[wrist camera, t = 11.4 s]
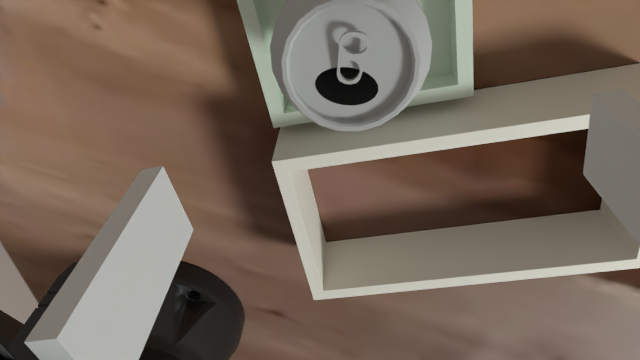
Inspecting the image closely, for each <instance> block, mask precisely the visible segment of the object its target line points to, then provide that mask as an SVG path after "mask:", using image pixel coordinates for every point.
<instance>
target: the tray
mask: <svg viewBox="0 0 640 360" xmlns="http://www.w3.org/2000/svg"><path fill="white" fill-rule="evenodd" d="M417 1H418V3H419V5H420V7H421V9H422V11H423V12H424V14H425V16H426V18H427V22H428V27H429V31H430V36H431V40H432V52H431V61H430V69H429V71H428V74H427V76H426V78H425V80H424V83H423V85H422V87H421V89H420V91H419V92H418V94H417V95H416V96H415V97H414V98H413V99H412V100H411V102H410V103H409V104H408V105H407V106H406V107H408V106H414V105H421V104H427V103H433V102H439V101H445V100H452V99H458V98H464V97H470V96H474V80H473V18H472V0H417ZM284 2H285V0H237V4H238V7H239V11H240V14H241V17H242V21H243V24H244V28H245V31H246V35H247V38H248V42H249V45H250V48H251V52H252V55H253V59H254V62H255V66H256V69H257V73H258V76H259V79H260V83H261V86H262V90H263V93H264V97H265V100H266V104H267V107H268V110H269V114H270V117H271V121H272V124H273V128H277V127H283V126H290V125H296V124H302V123H308V122H313V121H312V120H310V119H308V118H307V117H305V116H304V115H302V114H301V112H299V111H297V110H296V109H295V107H294V106H293V105H292V104H291V103H290V102H289V101H288V99H287V98H286V97H285V96H284V95H283V94H282V92H281V90H280V88H279V85H278V83H277V81H276V79H275V76H274V74H273V72H272V64H271V54H270V43H271V39H272V35H273V30H274V26H275V22H276V19H277V17H278V15H279V13H280V11H281V9H282V6H283V4H284Z"/></svg>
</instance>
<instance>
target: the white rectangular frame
mask: <svg viewBox="0 0 640 360" xmlns="http://www.w3.org/2000/svg"><path fill="white" fill-rule="evenodd" d="M618 89H623V90H624V91H626V92H627V93H628V94H629V95H631V96H632V97H633V98H635V99H636V100H637V101H638V102H640V63H638V64H632V65H626V66H620V67H614V68H607V69H601V70H595V71H589V72H583V73H577V74H570V75H564V76H558V77H552V78H546V79H540V80H534V81H527V82H521V83H515V84H509V85H503V86H497V87H490V88H484V89H478V90H474V96H470V97H464V98H458V99H452V100H445V101H439V102H433V103H427V104H421V105H414V106H408V107H405V108H404V109H403V110H402V111H400V112H399V114H398V115H396V116H394V117H393V118H391V119H390V120H388V121H387V122H385V123H383V124H382V125H380V126H377V127H373V128H370V129H366V130H363V131H337V130H333V129H330V128H326V127H322V126H319V125H318V124H316V123H315V122H308V123H302V124H296V125H290V126H283V127H280V131H279V135H278V139H277V142H276V146H275V150H274V154H273V158H272V165H273V168H274V172H275V175H276V178H277V181H278V185H279V188H280V191H281V194H282V198H283V201H284V204H285V207H286V211H287V214H288V217H289V220H290V224H291V227H292V230H293V233H294V237H295V240H296V243H297V246H298V250H299V253H300V256H301V259H302V263H303V266H304V269H305V272H306V276H307V279H308V282H309V285H310V289H311V292H312V295H313V299H314V300H321V299H331V298H341V297H351V296H361V295H372V294H382V293H392V292H402V291H412V290H422V289H432V288H442V287H452V286H462V285H472V284H483V283H493V282H503V281H513V280H523V279H533V278H543V277H553V276H563V275H573V274H584V273H594V272H604V271H614V270H624V269H634V268H640V246H639V245H638V243H637V242H636V241H635V239H634V238H633V237H632V236H631V234H630V233H629V232H628V231H627V229H626V228H625V227H624V226H623V224H622V223H621V222H620V220H619V219H618V218H617V217H616V215H615V214H614V213H613V212H612V210H611V209H610V208H609V207H608V205H607V204H606V203H605V201H604V200H603V199H602V202H601V207H600V210H593V211H584V212H576V213H568V214H559V215H551V216H542V217H534V218H525V219H517V220H509V221H500V222H492V223H483V224H475V225H466V226H458V227H450V228H441V229H433V230H424V231H416V232H407V233H399V234H390V235H382V236H374V237H365V238H357V239H348V240H340V241H331V242H326V240H325V236H324V232H323V228H322V224H321V221H320V217H319V213H318V209H317V205H316V201H315V197H314V194H313V190H312V186H311V182H310V178H309V174H308V170H307V169H312V168H319V167H326V166H333V165H340V164H347V163H354V162H361V161H368V160H375V159H382V158H389V157H395V156H402V155H409V154H416V153H423V152H430V151H437V150H444V149H451V148H458V147H465V146H472V145H479V144H485V143H492V142H499V141H506V140H513V139H520V138H527V137H534V136H541V135H548V134H555V133H562V132H569V131H575V130H582V129H588V128H589V120H590V112H591V104H592V96H593V94H594V93H600V92H606V91H612V90H618Z"/></svg>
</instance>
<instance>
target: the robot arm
mask: <svg viewBox="0 0 640 360" xmlns="http://www.w3.org/2000/svg"><path fill="white" fill-rule="evenodd" d="M583 175H584V176H585V177H586V179H587V180H588V181H589V182H590V184H591V185H592V186H593V188H594V189H595V190H596V191H597V193H598V194H599V195H600V196H601V198H602V199H603V200H604V201H605V203H606V204H607V205H608V207H609V208H610V209H611V210H612V212H613V213H614V214H615V215H616V217H617V218H618V219H619V220H620V222H621V223H622V224H623V226H624V227H625V228H626V229H627V231H628V232H629V233H630V234H631V236H632V237H633V238H634V239H635V241H636V242H637V243H638V245H639V246H640V102H638V101H637V100H636V99H635V98H633V97H632V96H631V95H629V94H628V93H627V92H626V91H624V90H623V89H618V90H612V91H606V92H600V93H594V94H593V96H592V104H591V112H590V120H589V128H588V136H587V144H586V152H585V161H584V169H583ZM192 232H193V228H192V226H191V224H190V221H189V219H188V217H187V215H186V213H185V211H184V209H183V207H182V205H181V203H180V201H179V198H178V196H177V194H176V192H175V190H174V188H173V186H172V184H171V182H170V180H169V178H168V176H167V173H166V171H165V169H164V167H163V166H161V167H155V168H149V169H143V170H141V171H140V173H139V174H138V176H137V177H136V179H135V180H134V182H133V183H132V184H131V186H130V187H129V189H128V190H127V192H126V193H125V195H124V196H123V198H122V199H121V201H120V202H119V204H118V205H117V206H116V208H115V209H114V211H113V212H112V214H111V215H110V217H109V218H108V220H107V221H106V223H105V224H104V226H103V227H102V228H101V230H100V231H99V233H98V234H97V236H96V237H95V239H94V240H93V242H92V243H91V245H90V246H89V248H88V249H87V250H86V252H85V253H84V255H83V256H82V258H81V259H80V261H79V262H75V263H73V264H72V265H71V266H70V267H69V268H67V269H66V270H65V271H64V272H63V273H62V274H61V275H60V276H59V277H58V278H57V279H56V280H55V282H54V283H53V285H52V286H51V288H50V289H49V290H48V292H47V295H45V296H44V297H43V299H42V300H41V302H40V303H39V304H38V308H36V309H35V310H34V312H33V313H32V314H31V316H30V317H29V319H28V320H27V321H26V323H25V324H22V323H20V322H19V321H18V320H16V319H14V318H12V317H11V316H9V315H8V314H6V313H4V312H3V311H1V310H0V360H229V359H230V357H231V355H232V354H233V353H234V352H235V350H236V348H237V347H238V344H239V342H240V339H241V335H242V330H243V326H244V320H245V315H244V310H243V306H242V304H241V302H240V300H239V298H238V297H237V295H236V294H235V293H234V292H233V290H232V289H231V288H230V287H229V286H228V285H226V284H225V283H224V282H223V281H222V280H220V279H219V278H217V277H216V276H214V275H212V274H211V273H209V272H207V271H205V270H202V269H200V268H198V267H195V266H192V265H189V264H185V263H181V262H180V261H181V258H182V256H183V254H184V251H185V249H186V247H187V244H188V242H189V239H190V237H191V235H192Z"/></svg>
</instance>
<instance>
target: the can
mask: <svg viewBox="0 0 640 360" xmlns="http://www.w3.org/2000/svg"><path fill="white" fill-rule="evenodd" d="M431 52H432V40H431V36H430V31H429V27H428V22H427V18H426V16H425V14H424V12H423V11H422V9H421V7H420V5H419V3H418V1H417V0H285V2H284V4H283V6H282V9H281V11H280V13H279V15H278V17H277V19H276V22H275V26H274V30H273V35H272V39H271V43H270V54H271V64H272V72H273V74H274V76H275V79H276V81H277V83H278V85H279V88H280V90H281V92H282V94H283V95H284V96H285V97H286V98H287V99H288V101H289V102H290V103H291V104H292V105H293V106H294V107H295V109H296V110H297V111H299V112H301V114H302V115H304V116H305V117H307V118H308V119H310V120H312V121H313V122H315V123H316V124H318V125H319V126H322V127H326V128H330V129H333V130H337V131H363V130H366V129H370V128H373V127H377V126H380V125H382V124H383V123H385V122H387V121H388V120H390V119H391V118H393V117H394V116H396V115H398V114H399V112H400V111H402V110H403V109H404V108H405V107H406V106H407V105H408V104H409V103H410V102H411V100H412V99H413V98H414V97H415V96H416V95H417V94H418V92H419V91H420V89H421V87H422V85H423V83H424V80H425V78H426V76H427V74H428V71H429V69H430V61H431Z"/></svg>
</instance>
